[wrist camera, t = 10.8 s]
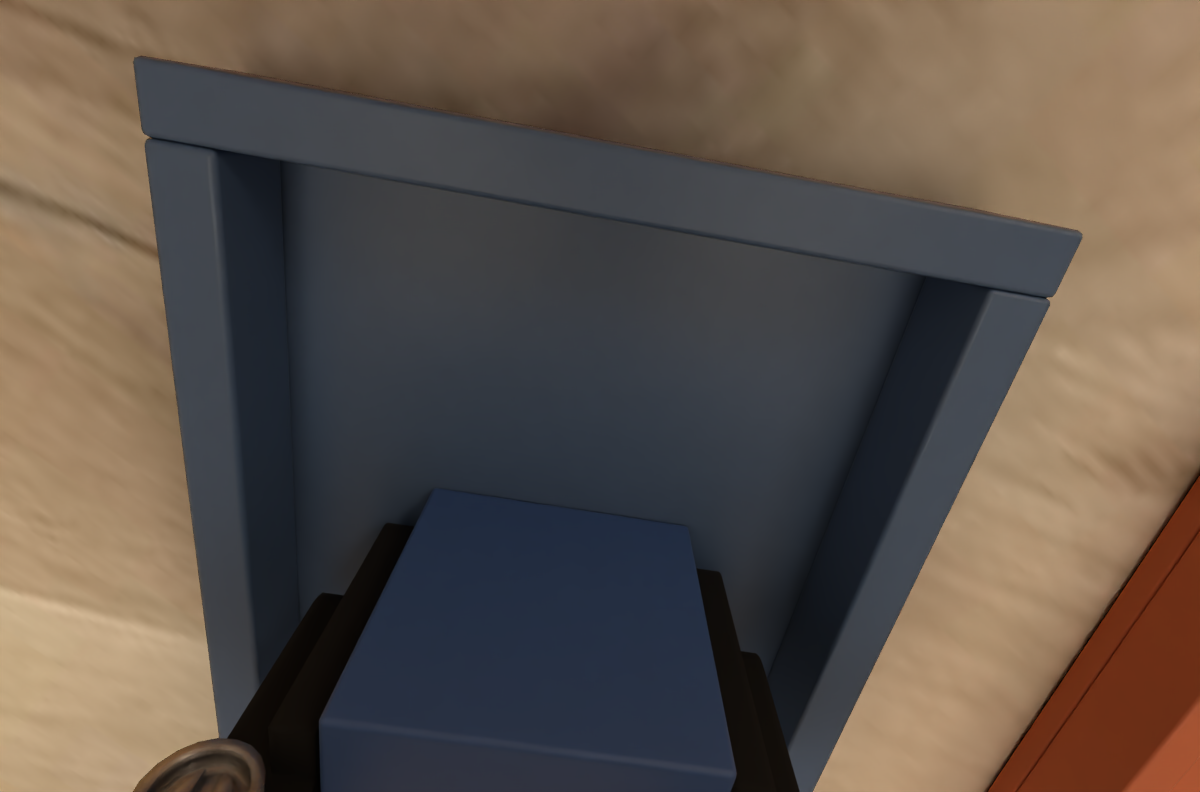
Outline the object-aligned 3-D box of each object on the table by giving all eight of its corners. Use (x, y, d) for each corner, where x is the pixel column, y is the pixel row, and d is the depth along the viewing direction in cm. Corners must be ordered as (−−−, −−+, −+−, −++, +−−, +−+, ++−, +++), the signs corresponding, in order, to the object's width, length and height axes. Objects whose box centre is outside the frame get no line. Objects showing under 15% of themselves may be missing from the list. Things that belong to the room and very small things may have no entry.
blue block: (432, 485, 10) (316, 721, 6) (689, 524, 10) (740, 776, 6) (420, 673, 12) (322, 951, 8) (639, 702, 12) (654, 988, 8)
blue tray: (238, 70, 8) (128, 53, 6) (987, 211, 9) (1088, 233, 7) (285, 802, 14) (237, 900, 12) (718, 855, 15) (734, 956, 13)
